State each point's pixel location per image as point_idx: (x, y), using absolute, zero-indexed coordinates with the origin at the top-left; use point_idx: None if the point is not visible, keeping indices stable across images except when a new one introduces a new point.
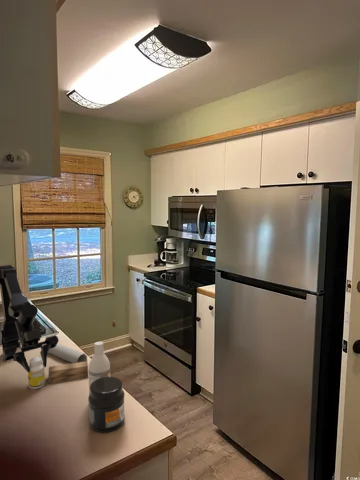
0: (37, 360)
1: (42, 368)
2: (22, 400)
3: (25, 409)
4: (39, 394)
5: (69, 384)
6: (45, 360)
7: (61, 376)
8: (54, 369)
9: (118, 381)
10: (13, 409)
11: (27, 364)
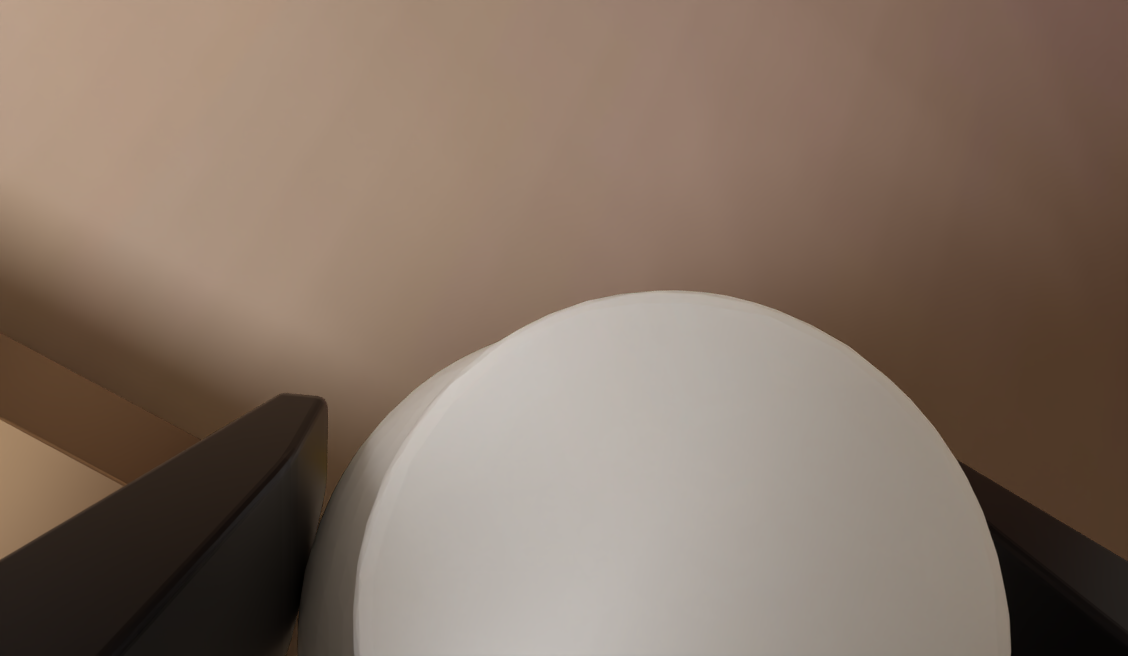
0: (652, 412)
1: (465, 359)
2: (932, 286)
3: (951, 24)
4: (640, 249)
5: (48, 153)
6: (200, 478)
7: (2, 395)
8: (11, 537)
9: None
10: (1099, 149)
11: (1083, 577)
